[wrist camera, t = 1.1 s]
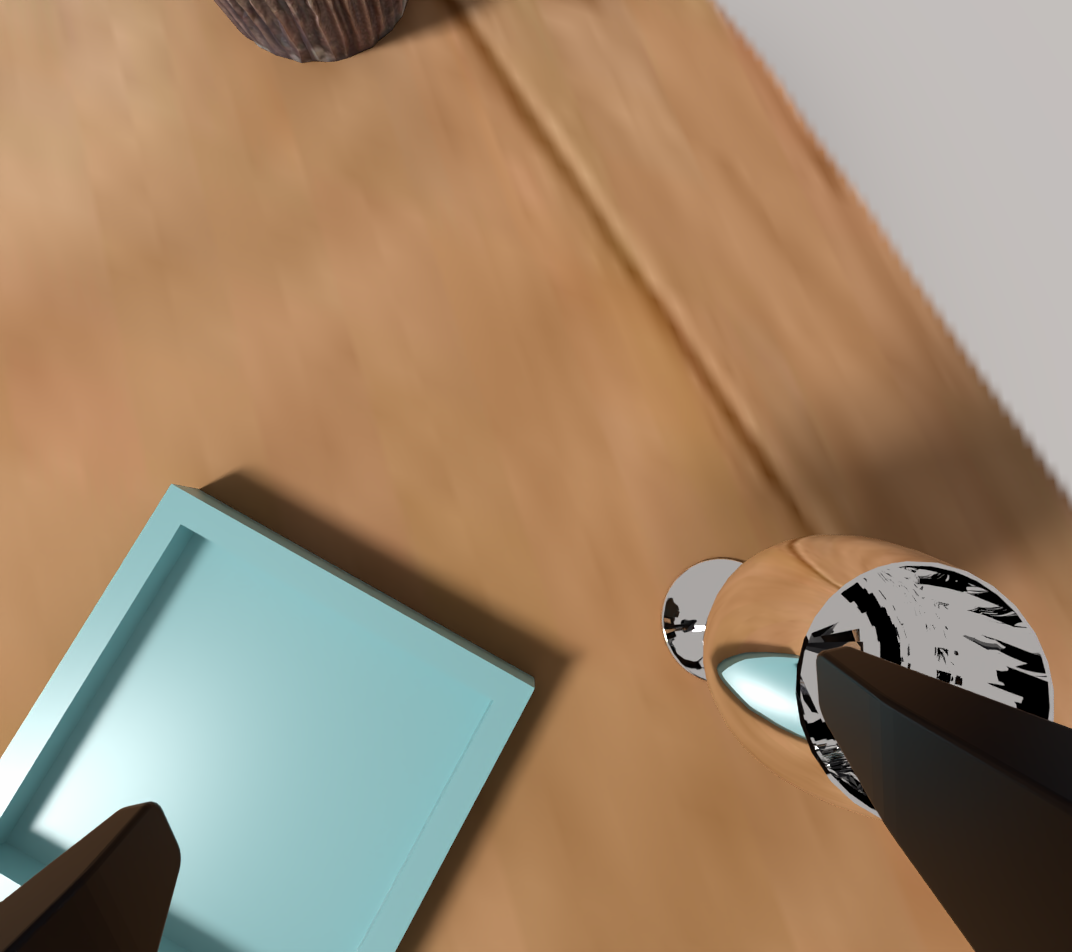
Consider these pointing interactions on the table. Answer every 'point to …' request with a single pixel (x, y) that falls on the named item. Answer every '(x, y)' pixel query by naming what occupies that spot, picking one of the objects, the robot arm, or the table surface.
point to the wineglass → (840, 643)
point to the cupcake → (314, 25)
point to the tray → (260, 737)
